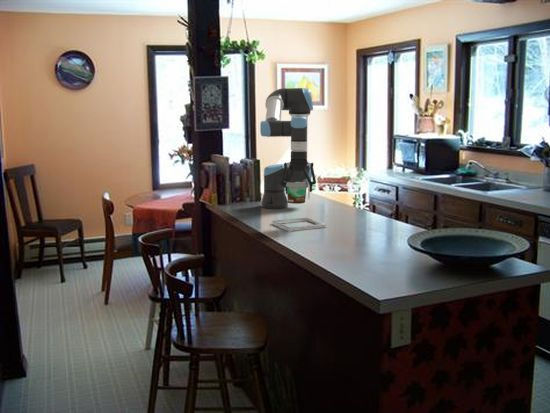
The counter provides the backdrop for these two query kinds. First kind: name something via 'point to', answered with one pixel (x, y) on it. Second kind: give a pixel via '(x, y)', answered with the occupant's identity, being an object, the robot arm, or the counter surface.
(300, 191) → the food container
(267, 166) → the robot arm
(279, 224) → the grey square frame
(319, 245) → the counter surface
